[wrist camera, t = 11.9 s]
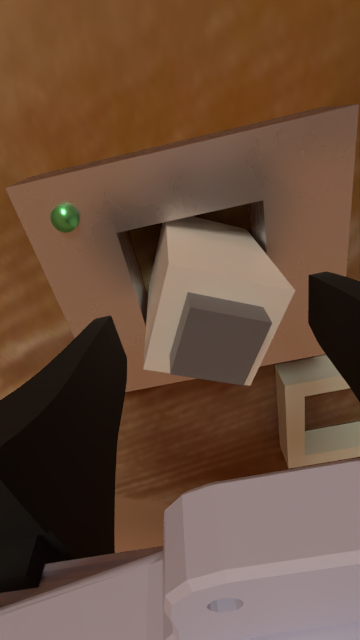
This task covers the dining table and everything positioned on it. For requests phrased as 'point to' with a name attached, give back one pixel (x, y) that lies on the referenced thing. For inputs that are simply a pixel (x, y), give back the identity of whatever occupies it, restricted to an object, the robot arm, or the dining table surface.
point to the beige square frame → (291, 393)
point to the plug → (212, 302)
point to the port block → (193, 199)
